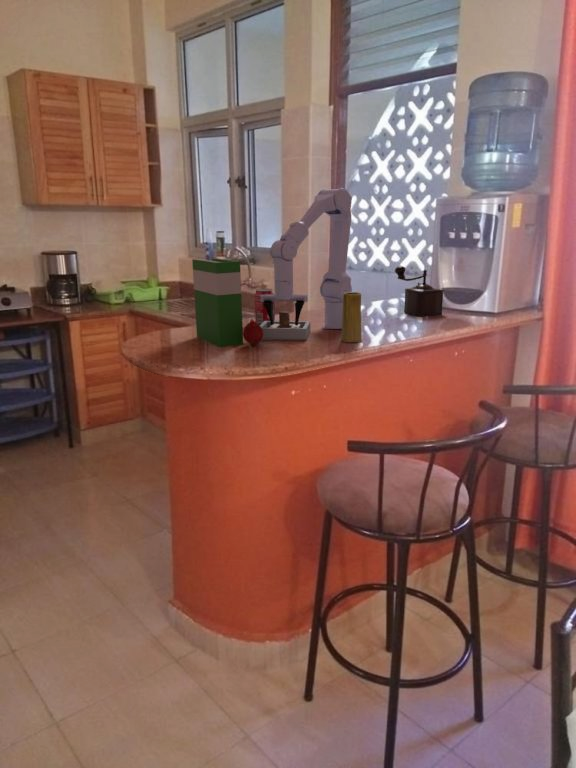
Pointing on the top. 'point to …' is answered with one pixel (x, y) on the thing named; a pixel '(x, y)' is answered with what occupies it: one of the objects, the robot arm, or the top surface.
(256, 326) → the onion
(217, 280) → the green cereal box
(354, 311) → the vase
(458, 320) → the top surface
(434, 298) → the manual coffee grinder
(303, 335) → the box
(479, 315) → the top surface
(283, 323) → the peg
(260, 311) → the soda can
